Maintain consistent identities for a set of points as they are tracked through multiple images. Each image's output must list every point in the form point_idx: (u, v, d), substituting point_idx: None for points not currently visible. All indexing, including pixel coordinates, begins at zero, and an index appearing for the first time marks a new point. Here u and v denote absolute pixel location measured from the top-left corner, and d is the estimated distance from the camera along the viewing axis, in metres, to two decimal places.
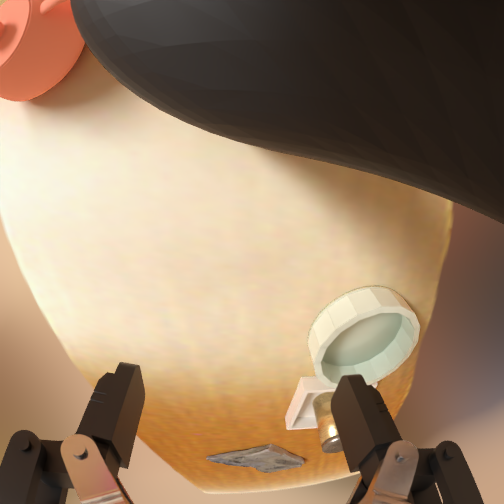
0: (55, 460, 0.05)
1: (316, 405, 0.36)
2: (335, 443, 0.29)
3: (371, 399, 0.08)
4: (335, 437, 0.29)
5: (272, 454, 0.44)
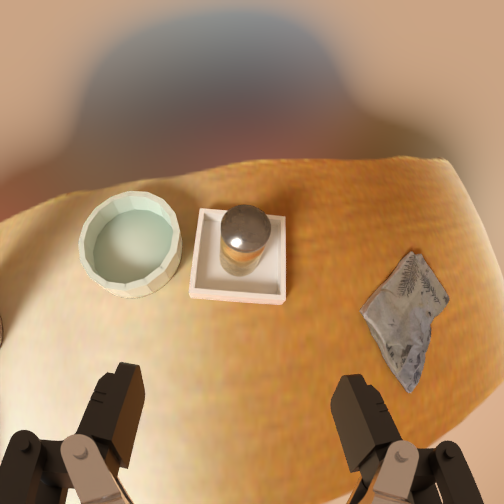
0: (55, 460, 0.05)
1: (233, 271, 0.34)
2: (234, 235, 0.28)
3: (371, 399, 0.08)
4: (223, 239, 0.28)
5: (379, 304, 0.35)
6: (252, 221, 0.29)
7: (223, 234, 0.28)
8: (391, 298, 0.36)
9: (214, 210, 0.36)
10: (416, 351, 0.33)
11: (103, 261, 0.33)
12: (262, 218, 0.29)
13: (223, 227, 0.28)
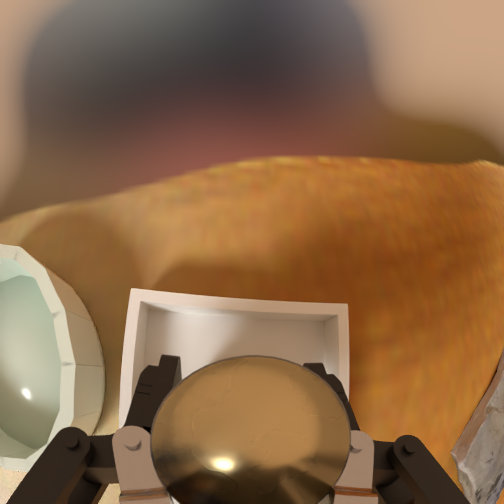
0: (102, 462, 0.05)
1: None
2: (207, 489, 0.05)
3: None
4: None
5: (481, 438, 0.12)
6: (280, 429, 0.06)
7: (165, 482, 0.05)
8: (495, 419, 0.13)
9: (166, 295, 0.13)
10: (503, 476, 0.10)
11: None
12: (320, 410, 0.06)
13: (162, 458, 0.05)
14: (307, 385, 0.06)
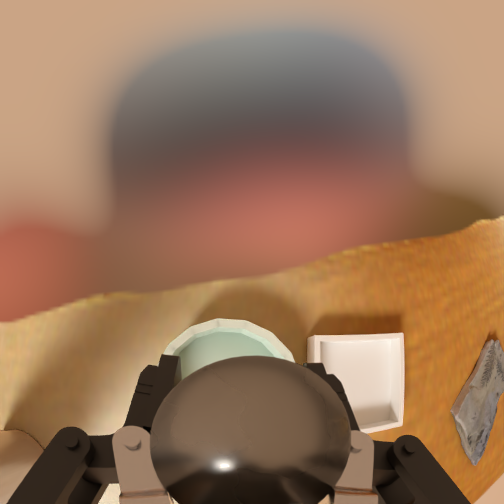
0: (102, 461, 0.05)
1: None
2: (207, 489, 0.05)
3: None
4: None
5: (467, 403, 0.26)
6: (280, 430, 0.06)
7: (165, 483, 0.05)
8: (475, 393, 0.26)
9: (332, 336, 0.27)
10: (485, 432, 0.24)
11: None
12: (321, 410, 0.06)
13: (162, 459, 0.05)
14: (307, 385, 0.06)
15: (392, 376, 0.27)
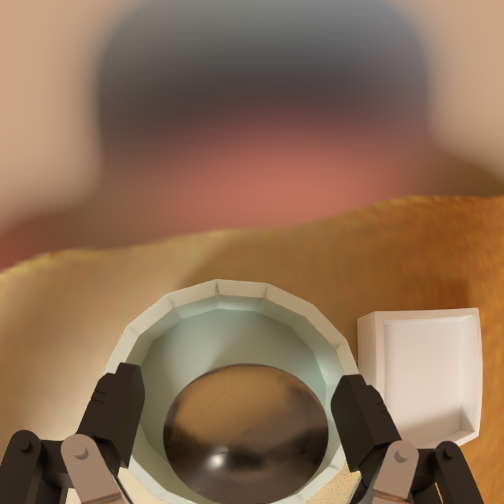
0: (55, 460, 0.05)
1: None
2: (209, 472, 0.06)
3: (371, 399, 0.08)
4: None
5: None
6: (269, 423, 0.07)
7: (175, 467, 0.06)
8: None
9: (398, 313, 0.16)
10: None
11: None
12: (302, 408, 0.08)
13: (173, 447, 0.07)
14: (291, 388, 0.08)
15: (465, 370, 0.16)
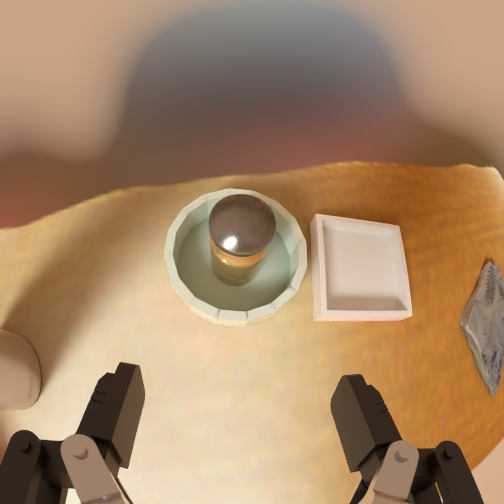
0: (55, 460, 0.05)
1: (227, 280, 0.27)
2: (226, 234, 0.21)
3: (371, 399, 0.08)
4: (212, 239, 0.21)
5: (475, 315, 0.29)
6: (251, 215, 0.21)
7: (212, 232, 0.21)
8: (482, 308, 0.30)
9: (332, 217, 0.30)
10: (499, 356, 0.27)
11: (195, 279, 0.28)
12: (264, 211, 0.22)
13: (212, 223, 0.21)
14: (259, 203, 0.22)
15: (394, 268, 0.31)
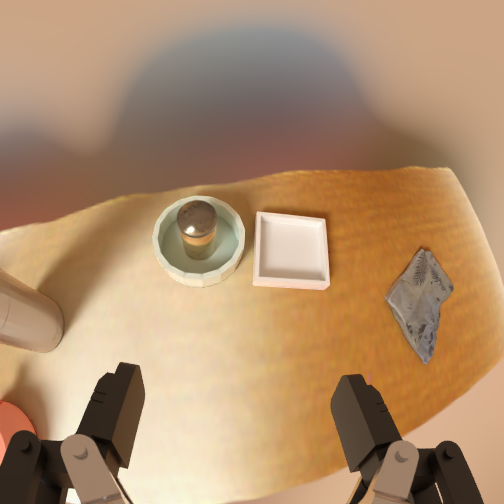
0: (55, 460, 0.05)
1: (193, 255, 0.40)
2: (186, 224, 0.34)
3: (371, 399, 0.08)
4: (179, 227, 0.34)
5: (399, 292, 0.42)
6: (202, 213, 0.35)
7: (178, 223, 0.34)
8: (408, 287, 0.43)
9: (269, 213, 0.44)
10: (429, 329, 0.41)
11: (172, 255, 0.41)
12: (210, 210, 0.35)
13: (178, 218, 0.34)
14: (207, 205, 0.36)
15: (320, 250, 0.44)
